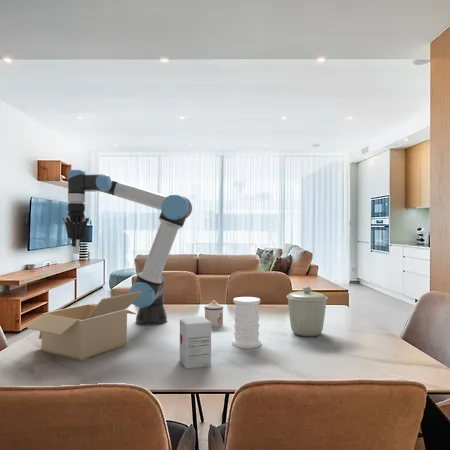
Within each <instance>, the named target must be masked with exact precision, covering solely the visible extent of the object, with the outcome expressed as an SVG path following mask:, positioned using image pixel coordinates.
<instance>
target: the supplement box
mask: <svg viewBox="0 0 450 450" xmlns="http://www.w3.org/2000/svg"><path fill="white" fill-rule="evenodd" d="M179 362H180V363H181V364H182V366H183V367H184V368H185V369H186V370H189V369H190V368H191V369H195V368H197V367H198V368H203V367H204V366H205V367H211V366H212V327H211V322H210V321H208V320H207V319H205V316H196V317H182V318H180V319H179ZM205 367H204V368H205Z"/></svg>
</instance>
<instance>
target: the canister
mask: <svg viewBox="0 0 450 450" xmlns="http://www.w3.org/2000/svg"><path fill="white" fill-rule="evenodd" d="M286 298H287V303H288V304H287V305H288V314H289V322H290V323H289V324H290V328H291V331H292V333H294V334H295V335H297V336H300V337H318V336H320V335H321V334H322V332H323V329H324V323H325V318H326V317H325V316H326V307H327V300H328V299H329V297H328V296H326V295H325V293H324V294H323V293H321V292H317V291H312V288H311V287H310V286H309V285H307V286H306V285H305V286H303V288H302V290H299V291H292V292H290V293H288V294H287V295H286Z"/></svg>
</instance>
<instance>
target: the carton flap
mask: <svg viewBox="0 0 450 450" xmlns="http://www.w3.org/2000/svg"><path fill="white" fill-rule="evenodd" d="M141 292H142V291H138V292H133V293H129V292H128V293H125V294H119V295H114V296H110V297H104V298H101V299H100V300H99V302H98V303H97V305H96V307H95V308H94V309H93V310H92V311H91V313H90V314H89V315H88V316H87V318H91V317H95V316H99V315H103V314H107V313H111V312H115V311H119V310H123V309H127V310H128V308H129V307H131V305H132V302H133V301H134V300H135V299H136V298H137V297H138V296H139V295H140V294H141Z"/></svg>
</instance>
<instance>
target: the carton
mask: <svg viewBox="0 0 450 450" xmlns="http://www.w3.org/2000/svg"><path fill="white" fill-rule="evenodd" d="M97 304H98V303H97ZM97 304H96V303H84V304H81V305H80V304H79V305H76V306H70V307H65V308H61V309H56V310H52V311H48V312H47V311H46V312H44V313H41V316H40V317H38V318H37V319H36V320H34V321H33V322H31V323H30V324H29V325H28V326H26V328H27V329H30V330H34V331H38V332H39V335H38V340H41V346H40V347H41V350H40V351H41V352H44V353H48V354H51V355H57V356H60V357H64V358H67V359H71V360H76V361H79V362H83V361H86V360H88V359H91V358H95V357H97V356H99V355H103V354H106V353H108V352H111V351H113V350H116V349H118V348H122V347H124V346H127V344H128V341H127V340H128V314H130V315H136V316H137V313H136V312H134V311H131V310H129V309H128V308H127V309H123V310H119V311H115V312H111V313H107V314H103V315H99V316H95V317H91V318H87V316H88V315H89V314H90V313H91V311H92V310H93V309H94V308H95V307H96V305H97Z"/></svg>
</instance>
